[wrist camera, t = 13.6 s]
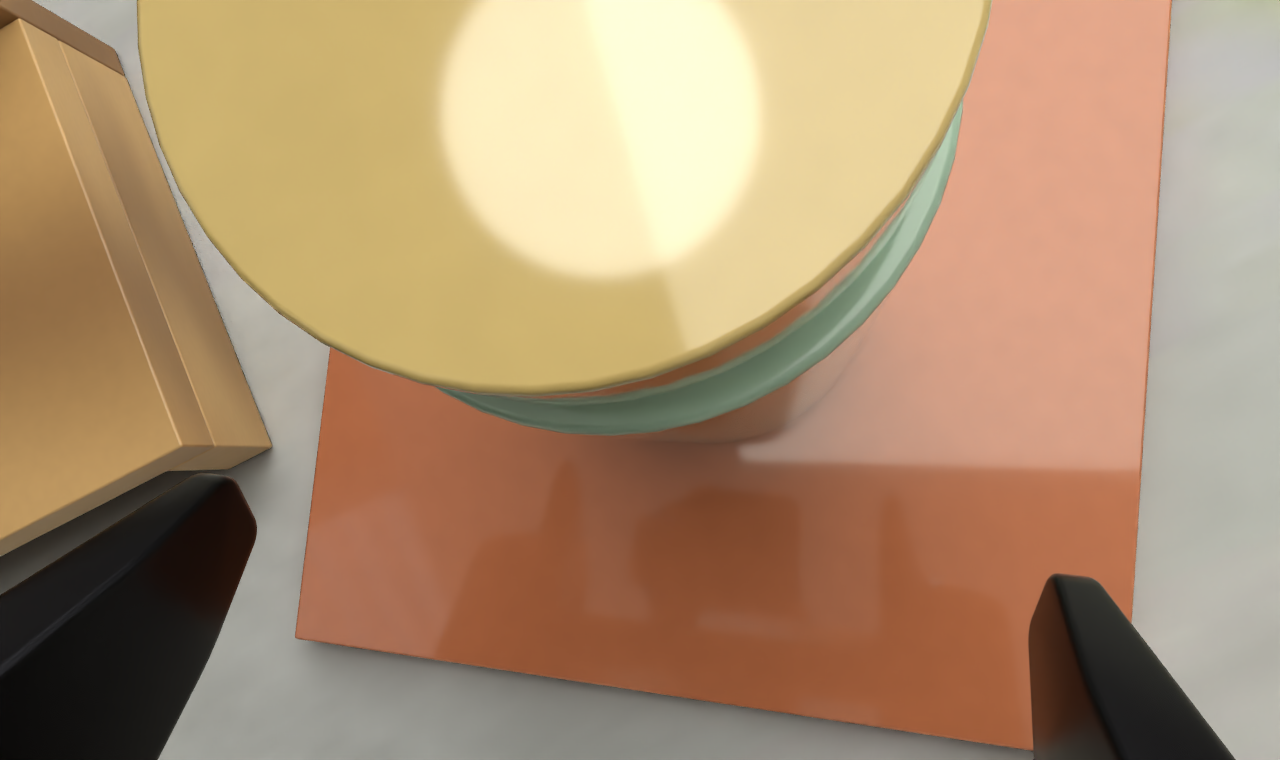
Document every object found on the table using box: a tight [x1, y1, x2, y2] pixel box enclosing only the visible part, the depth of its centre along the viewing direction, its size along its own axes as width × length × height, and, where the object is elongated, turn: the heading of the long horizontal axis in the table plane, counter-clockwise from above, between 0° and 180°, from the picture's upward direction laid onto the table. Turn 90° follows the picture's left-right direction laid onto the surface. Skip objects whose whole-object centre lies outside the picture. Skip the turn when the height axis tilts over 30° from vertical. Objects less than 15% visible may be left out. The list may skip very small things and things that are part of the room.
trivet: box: [295, 0, 1172, 751], centre depth 18 cm, size 16×16×1 cm
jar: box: [137, 0, 992, 444], centre depth 12 cm, size 6×6×12 cm
